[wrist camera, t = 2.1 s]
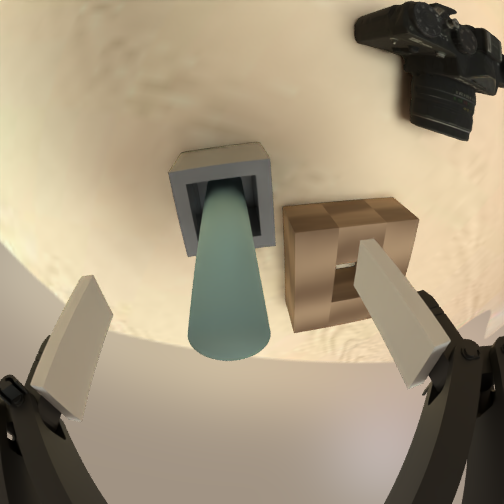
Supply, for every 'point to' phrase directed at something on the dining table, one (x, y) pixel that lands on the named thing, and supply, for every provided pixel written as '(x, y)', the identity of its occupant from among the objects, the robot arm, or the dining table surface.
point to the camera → (437, 62)
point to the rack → (338, 256)
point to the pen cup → (221, 167)
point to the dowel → (227, 279)
